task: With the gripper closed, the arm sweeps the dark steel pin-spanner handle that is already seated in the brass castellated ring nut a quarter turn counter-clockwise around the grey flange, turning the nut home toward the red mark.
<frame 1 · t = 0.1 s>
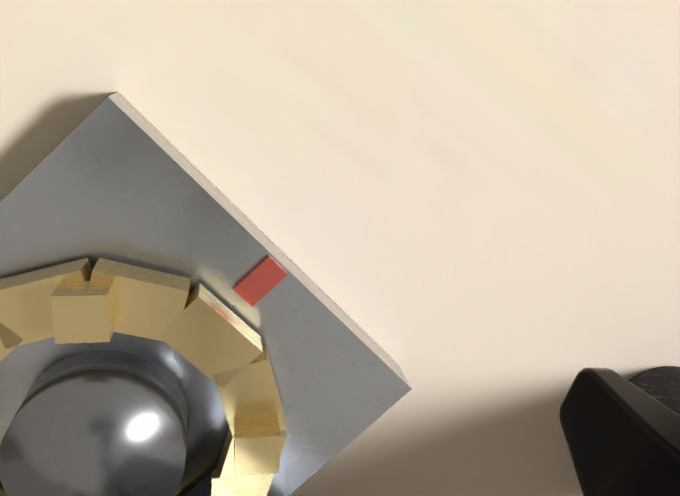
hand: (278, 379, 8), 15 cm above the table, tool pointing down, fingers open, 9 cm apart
flange: (116, 391, 24), on the table
travel mug: (649, 423, 31), on the table
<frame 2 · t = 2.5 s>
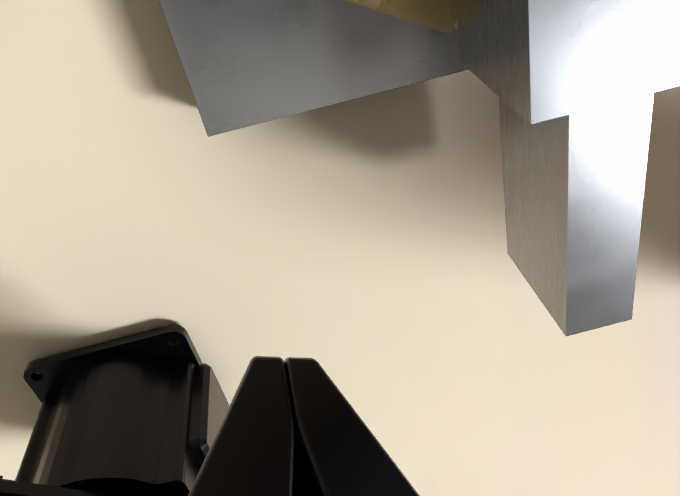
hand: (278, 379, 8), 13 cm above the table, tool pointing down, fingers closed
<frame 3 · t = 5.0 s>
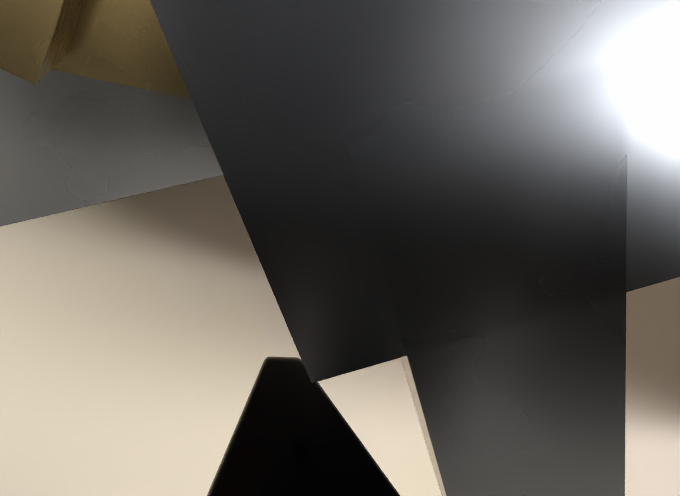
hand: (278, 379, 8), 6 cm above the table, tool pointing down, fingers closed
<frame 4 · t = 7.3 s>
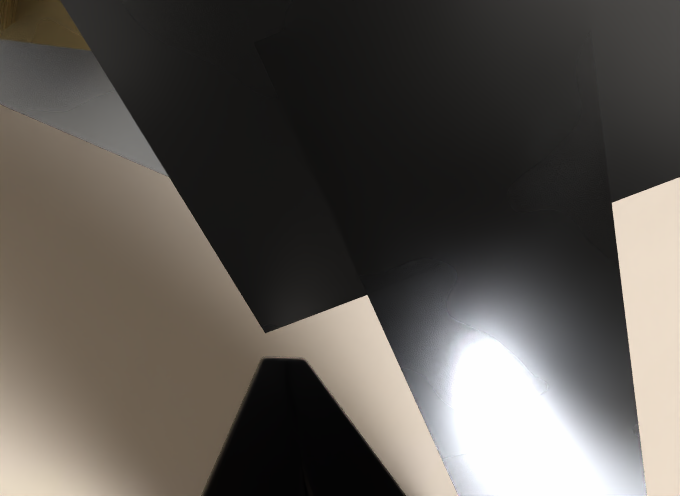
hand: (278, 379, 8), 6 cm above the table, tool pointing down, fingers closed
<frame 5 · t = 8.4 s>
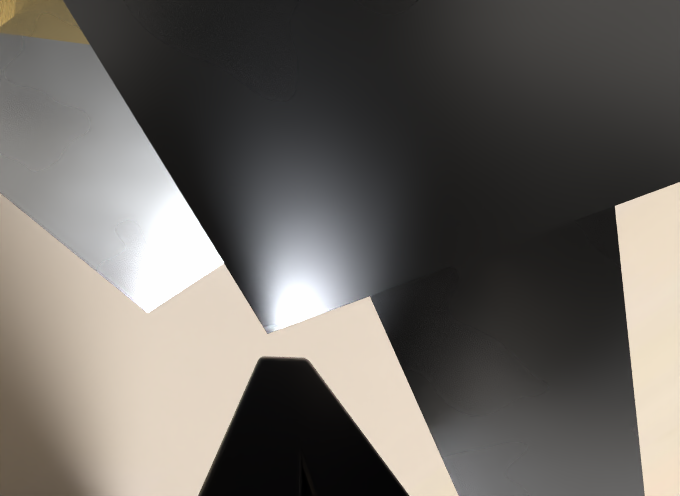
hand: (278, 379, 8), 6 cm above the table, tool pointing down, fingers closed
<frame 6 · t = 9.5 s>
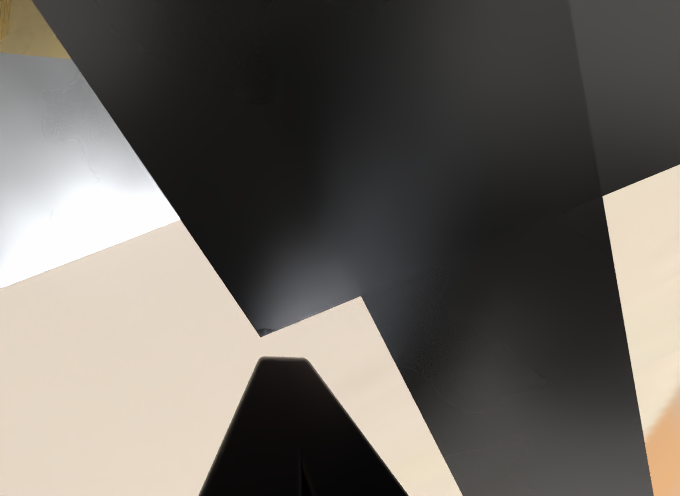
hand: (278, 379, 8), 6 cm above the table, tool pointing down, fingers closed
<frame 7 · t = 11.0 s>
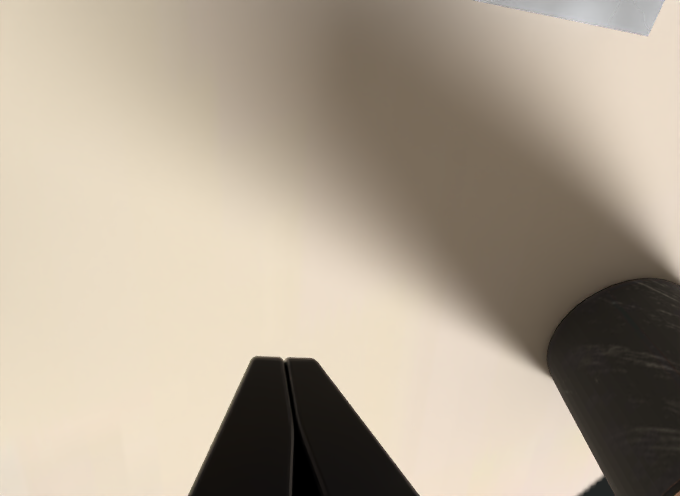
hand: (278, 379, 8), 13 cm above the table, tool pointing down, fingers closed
travel mug: (618, 336, 27), on the table
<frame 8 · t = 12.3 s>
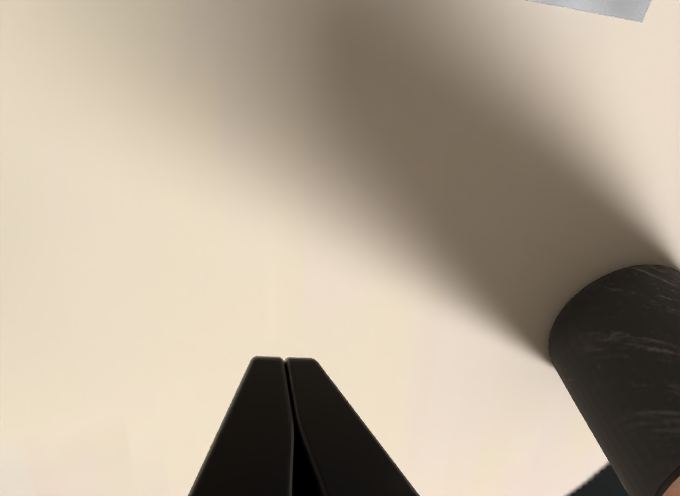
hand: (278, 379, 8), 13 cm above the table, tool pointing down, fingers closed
travel mug: (618, 323, 28), on the table
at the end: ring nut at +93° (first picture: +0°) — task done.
